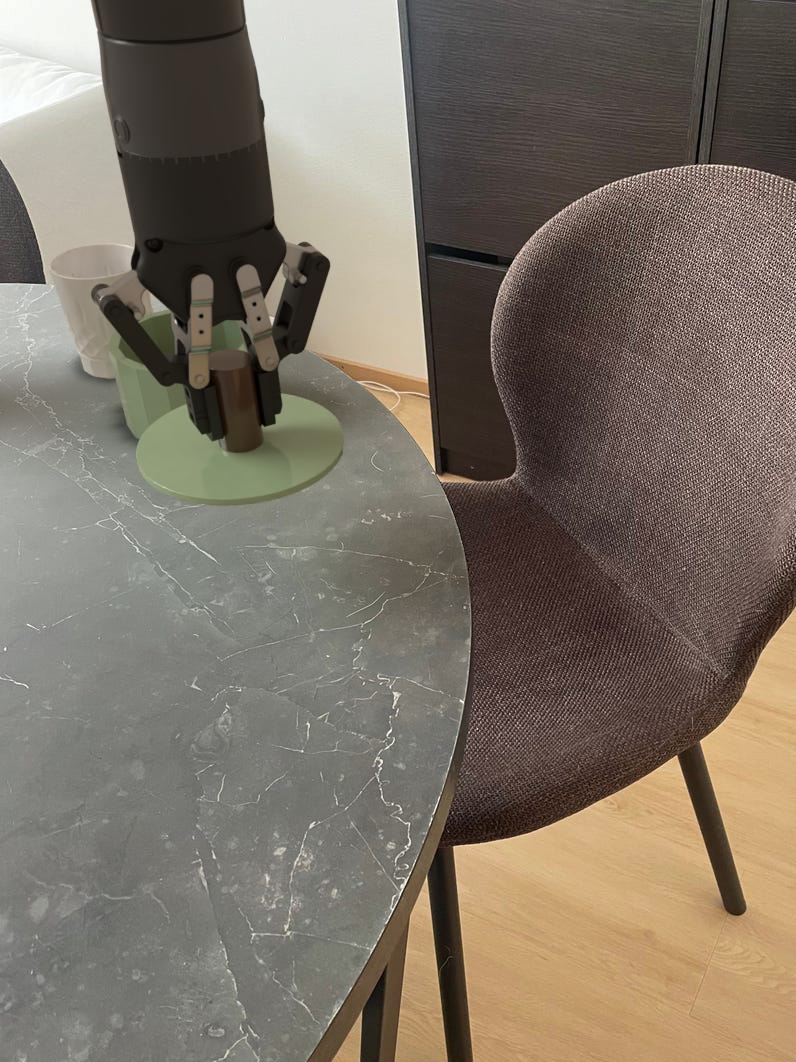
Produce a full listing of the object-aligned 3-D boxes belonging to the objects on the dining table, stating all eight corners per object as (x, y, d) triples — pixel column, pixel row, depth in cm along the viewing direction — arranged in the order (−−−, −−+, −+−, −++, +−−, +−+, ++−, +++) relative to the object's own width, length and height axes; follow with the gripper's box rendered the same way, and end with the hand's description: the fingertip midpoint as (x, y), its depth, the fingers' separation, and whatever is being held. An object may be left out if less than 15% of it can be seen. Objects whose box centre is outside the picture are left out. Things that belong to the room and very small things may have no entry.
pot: (104, 446, 85) (81, 361, 80) (168, 380, 94) (151, 300, 89) (235, 464, 83) (220, 379, 78) (289, 396, 92) (278, 315, 87)
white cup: (184, 366, 96) (162, 259, 89) (110, 397, 91) (81, 287, 85) (134, 340, 100) (110, 235, 93) (61, 369, 95) (30, 261, 89)
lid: (100, 497, 62) (72, 397, 58) (195, 395, 71) (177, 303, 67) (302, 529, 60) (289, 428, 56) (372, 419, 69) (366, 325, 65)
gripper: (288, 91, 58) (317, 375, 69) (30, 128, 52) (108, 429, 64) (346, 127, 53) (367, 425, 65) (69, 171, 48) (146, 488, 59)
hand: (238, 426), depth 64 cm, fingers closed on lid, 3 cm apart
